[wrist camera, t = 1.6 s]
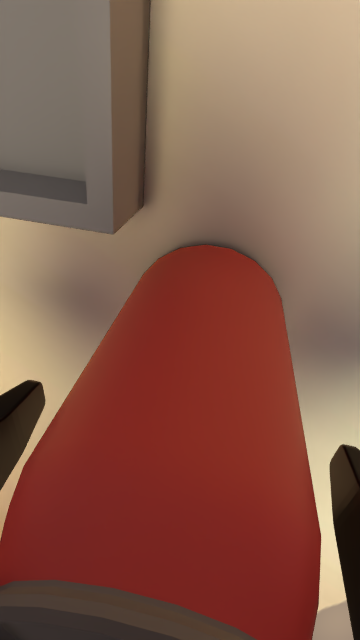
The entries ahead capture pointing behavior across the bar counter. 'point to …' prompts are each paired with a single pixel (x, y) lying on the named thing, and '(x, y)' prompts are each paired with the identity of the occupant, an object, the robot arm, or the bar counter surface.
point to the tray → (73, 111)
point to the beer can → (172, 475)
